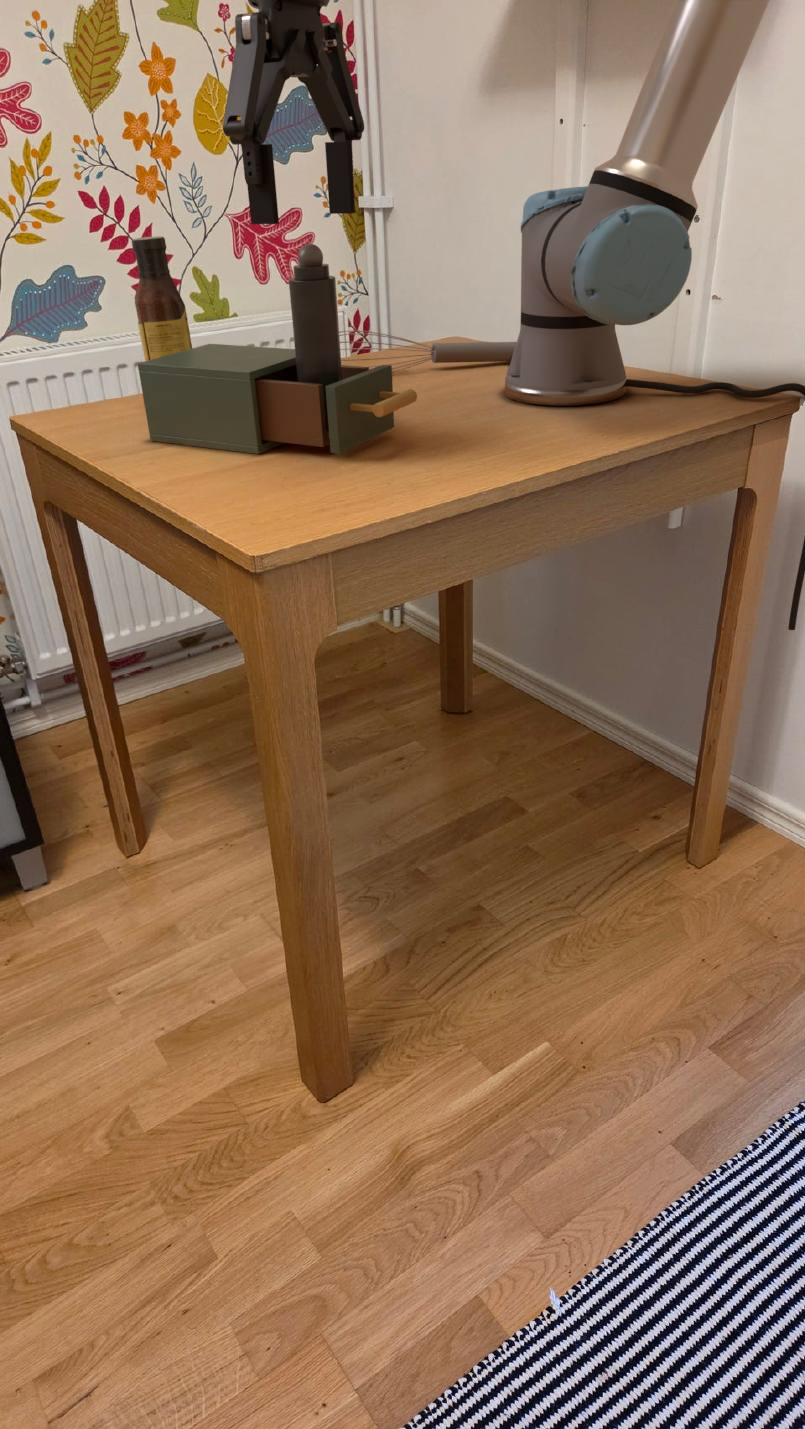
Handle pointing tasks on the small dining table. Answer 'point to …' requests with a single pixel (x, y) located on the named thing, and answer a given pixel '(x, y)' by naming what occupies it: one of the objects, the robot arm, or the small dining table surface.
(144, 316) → the sauce bottle
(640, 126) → the robot arm
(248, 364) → the cabinet
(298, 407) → the drawer
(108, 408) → the small dining table surface
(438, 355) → the kitchen whisk
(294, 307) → the pepper mill
